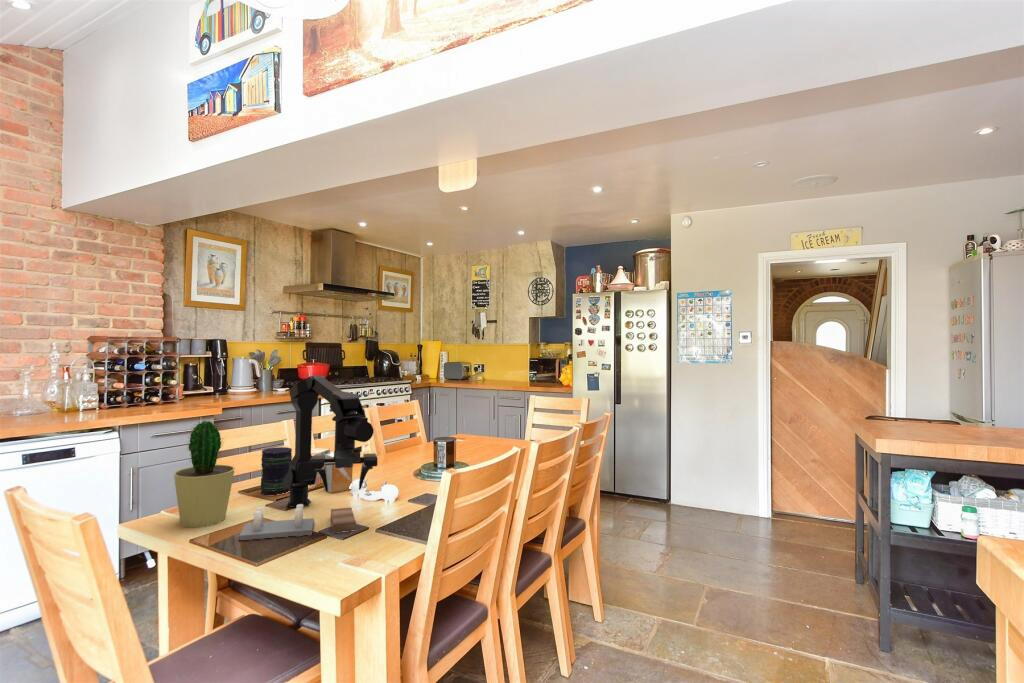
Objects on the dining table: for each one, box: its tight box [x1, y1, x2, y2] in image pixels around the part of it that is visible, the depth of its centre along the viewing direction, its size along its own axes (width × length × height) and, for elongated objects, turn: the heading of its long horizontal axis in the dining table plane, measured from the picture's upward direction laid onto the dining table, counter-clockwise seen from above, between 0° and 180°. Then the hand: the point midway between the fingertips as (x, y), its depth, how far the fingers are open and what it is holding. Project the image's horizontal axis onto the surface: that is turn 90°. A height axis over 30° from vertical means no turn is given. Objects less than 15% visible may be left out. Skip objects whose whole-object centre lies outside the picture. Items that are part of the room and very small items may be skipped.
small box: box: [323, 453, 354, 494], centre depth 183 cm, size 8×6×13 cm
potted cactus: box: [173, 420, 236, 528], centre depth 148 cm, size 15×15×30 cm
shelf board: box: [330, 506, 357, 534], centre depth 148 cm, size 14×6×3 cm, turn 23°
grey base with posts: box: [238, 504, 315, 541], centre depth 141 cm, size 10×18×6 cm, turn 108°
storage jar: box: [260, 446, 293, 496], centre depth 179 cm, size 10×10×15 cm
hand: (343, 490), depth 148 cm, fingers open, 9 cm apart
